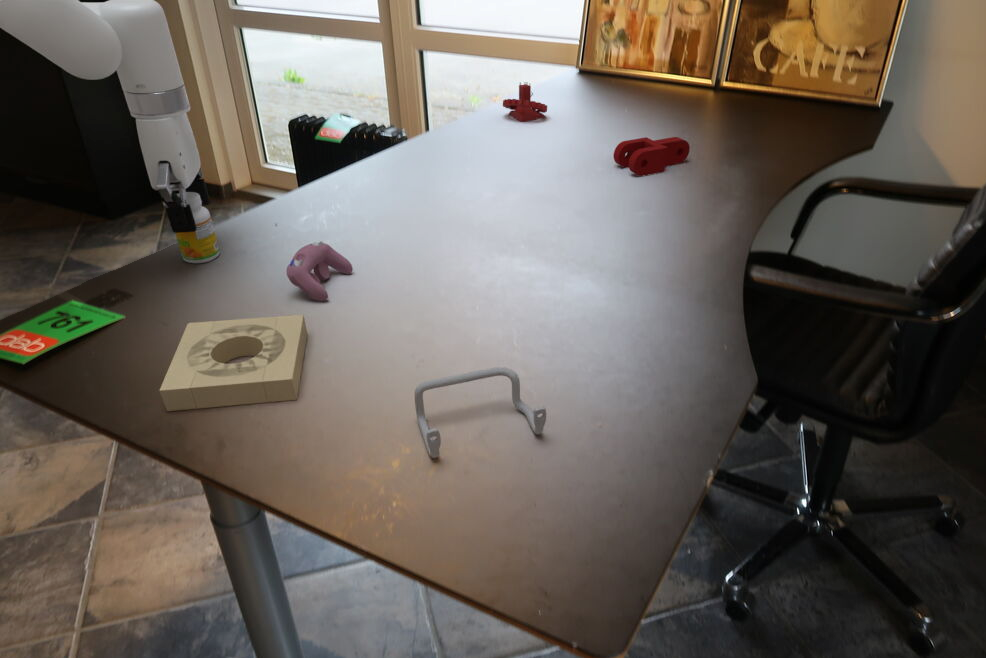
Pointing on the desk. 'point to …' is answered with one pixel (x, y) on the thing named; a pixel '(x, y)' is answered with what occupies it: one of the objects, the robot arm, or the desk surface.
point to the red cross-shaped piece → (525, 106)
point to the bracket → (427, 434)
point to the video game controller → (315, 268)
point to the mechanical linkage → (651, 154)
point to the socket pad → (258, 380)
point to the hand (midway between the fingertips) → (192, 217)
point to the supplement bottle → (198, 234)
